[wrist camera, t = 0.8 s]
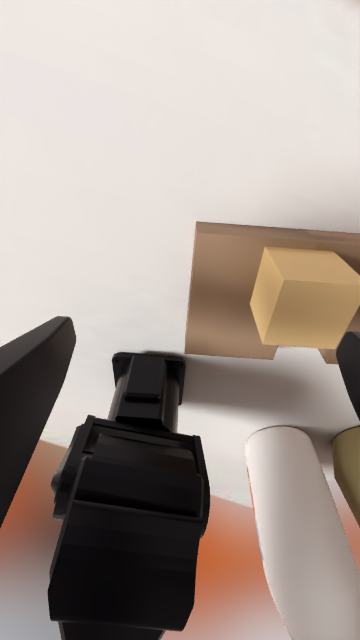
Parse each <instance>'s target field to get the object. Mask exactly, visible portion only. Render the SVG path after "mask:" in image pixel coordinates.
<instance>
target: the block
mask: <svg viewBox="0 0 360 640" xmlns="http://www.w3.org/2000/svg"><path fill="white" fill-rule="evenodd" d="M250 306H251V309H252V313H253V316H254V319H255V322H256V325H257V328H258V332H259V335H260V338H261V341H262V344H264V345H279V346H293V347H308V348H322V349H335V348H336V347H337V345H338V343H339V341H340V339H341V338H342V336H343V334H344V332H345V331H346V329H347V327H348V325H349V323H350V322H351V320H352V318H353V316H354V315H355V313H356V311H357V309H358V307H359V306H360V275H359V274H357V273H356V272H355V271H354V270H353V269H352V268H351V267H350V266H349V265H348V264H347V263H346V262H345V261H344V260H342V259H341V258H340V257H339V256H338V255H337V254H336V253H335V252H334V251H323V250H309V249H295V248H281V247H267V246H265V248H264V252H263V256H262V259H261V263H260V267H259V271H258V275H257V278H256V282H255V286H254V290H253V294H252V298H251V301H250Z"/></svg>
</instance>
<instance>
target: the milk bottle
mask: <svg viewBox="0 0 360 640" xmlns="http://www.w3.org/2000/svg"><path fill="white" fill-rule="evenodd" d="M244 450H245V458H246V465H247V471H248V477H249V484H250V490H251V496H252V502H253V509H254V514H255V521H256V527H257V532H258V539H259V544H260V550H261V555H262V560H263V565H264V571H265V575H266V579H267V582H268V586H269V589H270V592H271V595H272V598H273V600H274V603H275V605H276V607H277V610H278V612H279V614H280V616H281V618H282V620H283V622H284V624H285V626H286V628H287V630H288V633H289V635H290V637H291V639H292V640H360V575H359V572H358V568H357V565H356V562H355V559H354V556H353V553H352V550H351V547H350V544H349V541H348V538H347V535H346V533H345V530H344V527H343V525H342V522H341V519H340V516H339V513H338V511H337V508H336V505H335V502H334V500H333V497H332V494H331V492H330V489H329V486H328V483H327V481H326V478H325V475H324V473H323V470H322V467H321V465H320V462H319V459H318V457H317V454H316V451H315V449H314V446H313V444H312V441H311V439H310V438H309V437H308V435H307V434H305V433H304V432H303V431H301V430H299V429H296V428H292V427H282V426H281V427H271V428H266V429H262V430H260V431H257V432H256V433H254V434H252V435H251V436H250V437H249V438H248V439H247V440H246V443H245V447H244Z"/></svg>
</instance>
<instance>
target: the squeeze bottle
mask: <svg viewBox="0 0 360 640" xmlns="http://www.w3.org/2000/svg"><path fill="white" fill-rule="evenodd" d="M332 449H333V462H334V475H335V479H336V481H337V483H338V485H339V487H340V489H341V491H342V493H343V495H344V497H345V499H346V501H347V503H348V505H349V507H350V509H351V511H352V513H353V515H354V517H355V519H356V521H357V523H358V525H359V527H360V427H356V428H353V429H349V430H346V431H344V432H342V433H341V434H339V435H338V436H337V437H336V438H335V439H334V440H333V444H332Z"/></svg>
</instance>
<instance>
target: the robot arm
mask: <svg viewBox="0 0 360 640" xmlns="http://www.w3.org/2000/svg"><path fill="white" fill-rule="evenodd" d="M75 344H76V335H75V330H74V326H73V322H72V319H71V318H70V317H65V316H57V317H55V318H53V319H51V320H49V321H48V322H46V323H44V324H42V325H40V326H38V327H36V328H35V329H33V330H31V331H29V332H27V333H25V334H24V335H22V336H20V337H18V338H16V339H14V340H13V341H11V342H9V343H7V344H5V345H3V346H2V347H0V527H1V525H2V523H3V521H4V518H5V516H6V514H7V512H8V509H9V507H10V505H11V502H12V500H13V498H14V495H15V493H16V491H17V489H18V486H19V484H20V482H21V480H22V477H23V475H24V473H25V470H26V468H27V465H28V464H29V461H30V459H31V457H32V454H33V452H34V450H35V447H36V445H37V443H38V441H39V438H40V436H41V434H42V432H43V429H44V427H45V425H46V422H47V420H48V418H49V416H50V413H51V411H52V409H53V406H54V404H55V402H56V400H57V397H58V395H59V393H60V390H61V388H62V385H63V383H64V380H65V377H66V374H67V370H68V367H69V364H70V360H71V357H72V354H73V351H74V347H75ZM336 358H337V361H338V364H339V368H340V371H341V374H342V377H343V380H344V383H345V386H346V389H347V392H348V395H349V398H350V400H351V402H352V405H353V407H354V409H355V412H356V414H357V416H358V418H359V420H360V332H358V331H348V332H346V333H345V334H344V336H343V338H342V340H341V342H340V344H339V346H338V348H337V350H336ZM179 363H181V364H179ZM112 364H113V372H114V379H115V387H116V390H115V394H114V397H113V401H112V404H111V408H110V411H109V415H108V419H107V420H106V419H101V418H96V417H95V416H92V415H88V416H87V419H86V421H85V423H84V424H82V425H81V426H78V427H77V428H76V431H75V433H74V436H73V439H72V441H71V444H70V446H69V448H68V451H67V452H66V454H65V456H64V458H63V460H62V462H61V464H60V465H59V467H58V469H57V471H56V473H55V474H54V477H53V479H52V482H51V488H52V490H53V492H54V494H55V500H54V504H55V508H54V513H53V519H54V520H64V521H63V525H62V528H61V532H60V535H59V539H58V543H57V546H56V550H55V553H54V557H53V560H52V564H51V568H50V584H49V588H48V602H49V612H50V619H51V621H58V623H59V628H60V633H61V639H62V640H160V639H161V637H162V636H163V634H164V633H165V631H166V630H169V631H182V630H183V629H184V627H185V625H186V623H187V621H188V618H189V616H190V613H191V611H192V609H193V606H194V595H195V578H196V564H197V555H198V546H199V540H200V538H201V537H202V536H203V535H204V532H205V530H206V526H207V523H208V517H209V509H210V487H209V480H208V475H207V470H206V465H205V459H204V454H203V449H202V444H201V438H200V436H196V435H193V436H190V435H184V434H179V433H177V423H178V406H179V405H181V403H182V395H183V385H184V376H185V366H186V361H185V359H183V358H179V357H164V356H150V355H135V354H120V353H116V354H114V355H113V358H112Z"/></svg>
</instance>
